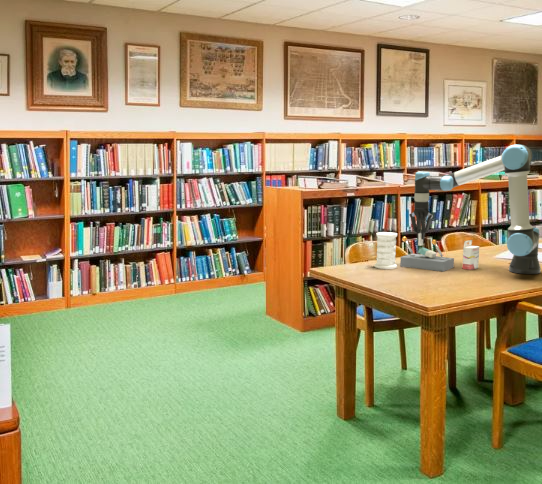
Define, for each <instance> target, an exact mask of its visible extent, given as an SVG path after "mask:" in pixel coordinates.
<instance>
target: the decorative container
mask: <svg viewBox="0 0 542 484" xmlns="http://www.w3.org/2000/svg"><path fill="white" fill-rule="evenodd" d="M375 236H376V237H377V238H376V239H377V240H376V243H377V245H376V263H374V268H375V269H380V270H394V269H397V268H398V265H397V264H396V260H397V259H396V254H397V252H396V249H397V246H396V245H397V239H396V238H397V237H398V233H397V232H387V231H382V232H376V234H375Z"/></svg>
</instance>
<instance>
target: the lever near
mask: <svg viewBox="0 0 542 484" xmlns="http://www.w3.org/2000/svg"><path fill="white" fill-rule="evenodd" d="M431 244H432V245H434V246H435V248H436V250H437V253H438V254H439V257H444V255H443V252H442V251H441V249H440V248H439V246H438V244H437V239H432V240H431Z"/></svg>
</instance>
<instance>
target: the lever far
mask: <svg viewBox="0 0 542 484" xmlns="http://www.w3.org/2000/svg"><path fill="white" fill-rule="evenodd" d="M401 240H402V242H404V243H405V245H406V247H407V249H408V250H409V252H410V254H414V252H413V249H412V248H411V246H410V244H409V242H408V241H407V240H408V237H406V236H402V238H401Z"/></svg>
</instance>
